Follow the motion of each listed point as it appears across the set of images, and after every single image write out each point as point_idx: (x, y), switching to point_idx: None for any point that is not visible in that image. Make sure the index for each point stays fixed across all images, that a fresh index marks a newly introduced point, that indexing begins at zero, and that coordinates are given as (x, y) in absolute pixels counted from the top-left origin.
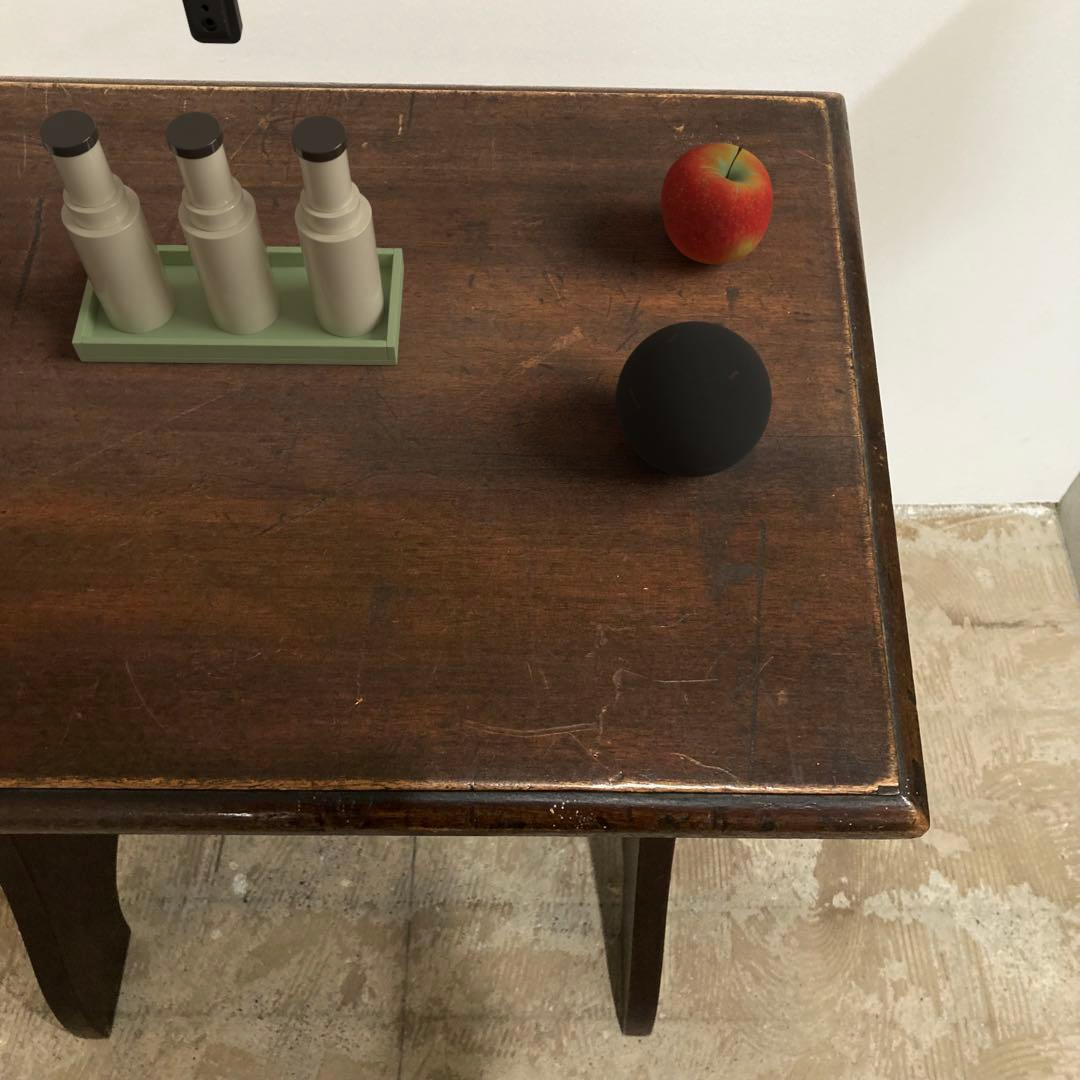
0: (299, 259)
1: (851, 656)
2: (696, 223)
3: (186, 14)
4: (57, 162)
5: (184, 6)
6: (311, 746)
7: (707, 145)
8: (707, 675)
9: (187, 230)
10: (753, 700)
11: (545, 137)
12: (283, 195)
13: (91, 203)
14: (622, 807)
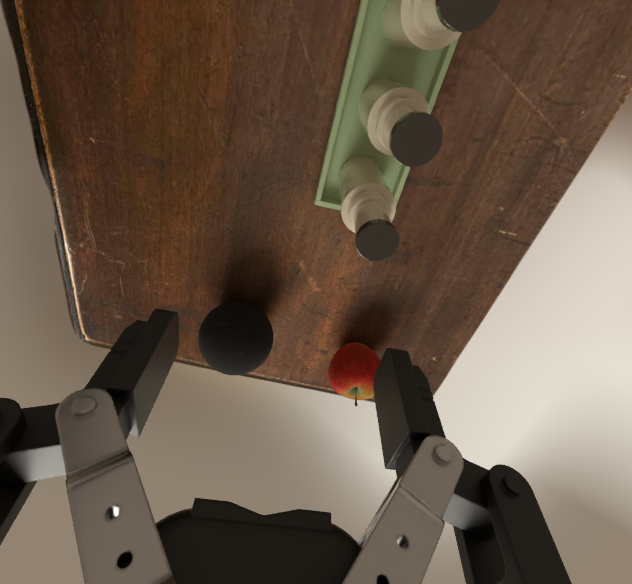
0: None
1: None
2: (337, 366)
3: (141, 331)
4: None
5: (137, 338)
6: (60, 107)
7: None
8: (125, 295)
9: (383, 95)
10: (115, 307)
11: (457, 304)
12: (481, 146)
13: (422, 1)
14: (57, 250)
